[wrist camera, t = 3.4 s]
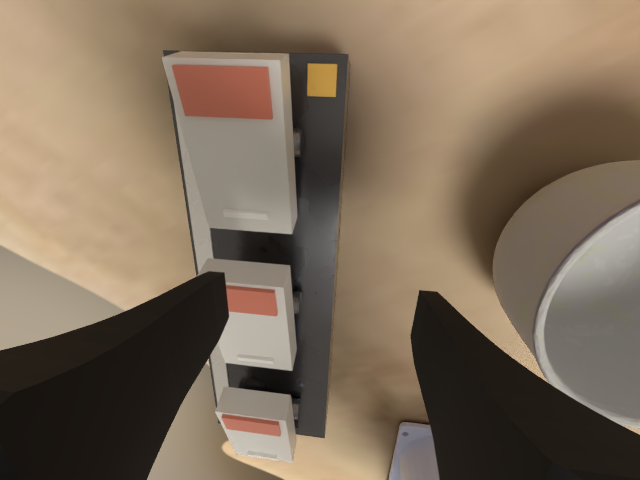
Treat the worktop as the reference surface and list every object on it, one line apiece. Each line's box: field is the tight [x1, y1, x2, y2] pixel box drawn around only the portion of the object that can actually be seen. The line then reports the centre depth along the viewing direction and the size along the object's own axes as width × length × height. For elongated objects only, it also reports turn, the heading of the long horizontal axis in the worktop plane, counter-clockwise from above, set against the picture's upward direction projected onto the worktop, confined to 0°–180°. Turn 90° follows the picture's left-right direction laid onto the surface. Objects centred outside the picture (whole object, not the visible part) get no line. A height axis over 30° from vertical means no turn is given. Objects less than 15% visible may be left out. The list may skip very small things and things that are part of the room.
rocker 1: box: [161, 51, 297, 234], centre depth 13 cm, size 7×4×2 cm, turn 178°
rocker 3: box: [215, 386, 296, 463], centre depth 19 cm, size 7×4×2 cm, turn 178°
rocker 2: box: [197, 258, 297, 371], centre depth 16 cm, size 7×4×2 cm, turn 178°
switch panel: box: [163, 50, 350, 438], centre depth 19 cm, size 24×8×5 cm, turn 178°
